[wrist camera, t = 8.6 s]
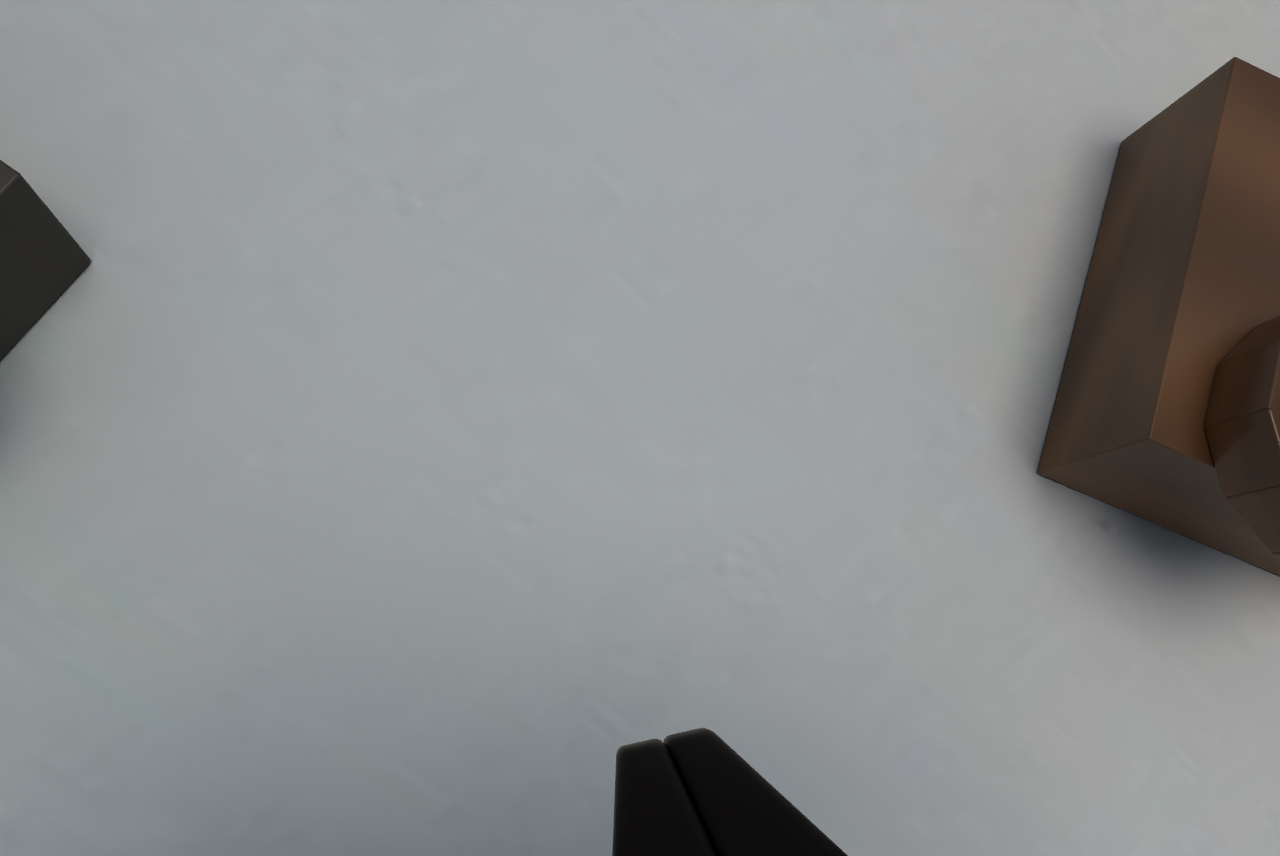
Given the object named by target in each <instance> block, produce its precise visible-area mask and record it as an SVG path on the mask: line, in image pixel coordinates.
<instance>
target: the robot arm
mask: <svg viewBox="0 0 1280 856" xmlns="http://www.w3.org/2000/svg"><path fill="white" fill-rule="evenodd" d="M612 856H848V855H846V854H845V853H844V852H843V851H842V850H841V849H840V848H839V847H838V846H837V845H836V844H835V843H833V842H832V841H831V840H830V839H829V838H828V837H827V836H826V835H825V834H824V833H823V832H822V831H820V830H819V829H818V828H817V827H816V826H815V825H814V824H813V823H812V822H811V821H810V820H809V819H807V818H806V817H805V816H804V815H803V814H802V813H801V812H800V811H799V810H798V809H797V808H795V807H794V806H793V805H792V804H791V803H790V802H789V801H788V800H787V799H786V798H785V797H784V796H782V795H781V794H780V793H779V792H778V791H777V790H776V789H775V788H774V787H773V786H772V785H771V784H769V783H768V782H767V781H766V780H765V779H764V778H763V777H762V776H761V775H760V774H759V773H758V772H756V771H755V770H754V769H753V768H752V767H751V766H750V765H749V764H748V763H747V762H746V761H745V760H743V759H742V758H741V757H740V756H739V755H738V754H737V753H736V752H735V751H734V750H733V749H731V748H730V747H729V746H728V745H727V744H726V743H725V742H724V741H723V740H722V739H721V738H720V737H718V736H717V735H716V734H715V733H714V732H713V731H711V730H709V729H706V728H699V729H694V730H690V731H686V732H681V733H677V734H673V735H669V736H667V737H666V738H665V739H664V742H662V741H661V740H658V739H651V740H646V741H642V742H638V743H633V744H629V745H625V746H622V747H620V748H619V749H618V751H617V755H616V777H615V803H614V828H613V853H612Z"/></svg>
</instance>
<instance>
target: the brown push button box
mask: <svg viewBox="0 0 1280 856" xmlns="http://www.w3.org/2000/svg"><path fill="white" fill-rule="evenodd" d="M1038 474H1040V475H1042V476H1045V477H1047V478H1049V479H1052V480H1054V481H1057V482H1059V483H1061V484H1064V485H1066V486H1068V487H1071V488H1073V489H1075V490H1078V491H1080V492H1083V493H1085V494H1087V495H1090V496H1092V497H1094V498H1097V499H1099V500H1101V501H1104V502H1106V503H1109V504H1111V505H1113V506H1116V507H1118V508H1120V509H1123V510H1125V511H1128V512H1130V513H1132V514H1135V515H1137V516H1139V517H1142V518H1144V519H1146V520H1149V521H1151V522H1154V523H1156V524H1158V525H1161V526H1163V527H1165V528H1168V529H1170V530H1172V531H1175V532H1177V533H1180V534H1182V535H1184V536H1187V537H1189V538H1191V539H1194V540H1196V541H1198V542H1201V543H1203V544H1206V545H1208V546H1210V547H1213V548H1215V549H1217V550H1220V551H1222V552H1225V553H1227V554H1229V555H1232V556H1234V557H1236V558H1239V559H1241V560H1243V561H1246V562H1248V563H1251V564H1253V565H1255V566H1258V567H1260V568H1262V569H1265V570H1267V571H1269V572H1272V573H1274V574H1277V575H1279V576H1280V78H1278V77H1276V76H1274V75H1272V74H1270V73H1268V72H1266V71H1264V70H1262V69H1259V68H1257V67H1255V66H1253V65H1251V64H1249V63H1247V62H1245V61H1243V60H1241V59H1239V58H1237V57H1234V58H1232V59H1231V60H1230V61H1228V62H1227V63H1226V64H1224V65H1223V66H1222V67H1220V68H1219V69H1218V70H1216V71H1215V72H1214V73H1213V74H1211V75H1210V76H1209V77H1207V78H1206V79H1205V80H1203V81H1202V82H1201V83H1199V84H1198V85H1197V86H1195V87H1194V88H1193V89H1191V90H1190V91H1189V92H1187V93H1186V94H1185V95H1183V96H1182V97H1181V98H1179V99H1178V100H1177V101H1175V102H1174V103H1173V104H1171V105H1170V106H1169V107H1167V108H1166V109H1165V110H1163V111H1162V112H1161V113H1159V114H1158V115H1157V116H1155V117H1154V118H1153V119H1151V120H1150V121H1149V122H1147V123H1146V124H1145V125H1143V126H1142V127H1141V128H1139V129H1138V130H1137V131H1135V132H1134V133H1133V134H1131V135H1130V136H1129V137H1127V138H1126V139H1125V140H1123V141H1122V143H1121V147H1120V151H1119V155H1118V159H1117V163H1116V167H1115V171H1114V175H1113V179H1112V182H1111V186H1110V190H1109V194H1108V198H1107V202H1106V206H1105V210H1104V214H1103V218H1102V222H1101V226H1100V229H1099V233H1098V237H1097V241H1096V245H1095V249H1094V253H1093V257H1092V261H1091V265H1090V269H1089V273H1088V276H1087V280H1086V284H1085V288H1084V292H1083V296H1082V300H1081V304H1080V308H1079V312H1078V316H1077V319H1076V323H1075V327H1074V331H1073V335H1072V339H1071V343H1070V347H1069V351H1068V355H1067V359H1066V363H1065V366H1064V370H1063V374H1062V378H1061V382H1060V386H1059V390H1058V394H1057V398H1056V402H1055V406H1054V409H1053V413H1052V417H1051V421H1050V425H1049V429H1048V433H1047V437H1046V441H1045V445H1044V449H1043V453H1042V456H1041V460H1040V464H1039V468H1038Z"/></svg>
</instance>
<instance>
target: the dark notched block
mask: <svg viewBox="0 0 1280 856" xmlns="http://www.w3.org/2000/svg"><path fill="white" fill-rule="evenodd" d="M90 262H91V260H90V258H89V257H88V256H87V255H86V253H85V252H84V251H83V250H82V249H81V247H80V246H79V245H78V244H77V243H76V241H75V240H74V239H73V238H72V236H71V235H70V234H69V233H68V232H67V230H66V229H65V228H64V227H63V226H62V224H61V223H60V222H59V221H58V219H57V218H56V217H55V216H54V215H53V213H52V212H51V211H50V210H49V208H48V207H47V206H46V205H45V204H44V202H43V201H42V200H41V199H40V198H39V196H38V195H37V194H36V193H35V191H34V190H33V189H32V188H31V187H30V185H29V184H28V183H27V182H26V181H25V179H24V178H23V177H22V176H21V174H20V173H18V172H17V171H15V170H14V169H12V168H11V167H10V166H8V165H7V164H5V163H4V162H2V161H1V160H0V360H1V359H2V358H3V357H4V356H5V355H6V354H7V353H8V351H9V350H10V349H11V348H12V347H13V346H14V345H15V344H16V343H17V342H18V341H19V340H20V338H21V337H22V336H23V335H24V334H25V333H26V332H27V331H28V330H29V329H30V328H31V327H32V325H33V324H34V323H35V322H36V321H37V320H38V319H39V318H40V317H41V316H42V315H43V313H44V312H45V311H46V310H47V309H48V308H49V307H50V306H51V305H52V304H53V303H54V302H55V300H56V299H57V298H58V297H59V296H60V295H61V294H62V293H63V292H64V291H65V290H66V289H67V287H68V286H69V285H70V284H71V283H72V282H73V281H74V280H75V279H76V278H77V277H78V276H79V274H80V273H81V272H82V271H83V270H84V269H85V268H86V267H87V266H88V265H89V264H90Z"/></svg>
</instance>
